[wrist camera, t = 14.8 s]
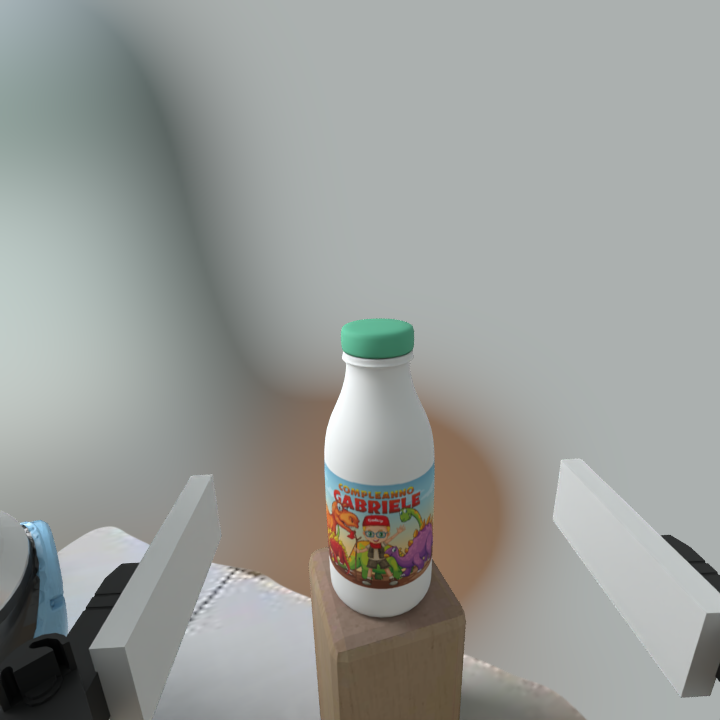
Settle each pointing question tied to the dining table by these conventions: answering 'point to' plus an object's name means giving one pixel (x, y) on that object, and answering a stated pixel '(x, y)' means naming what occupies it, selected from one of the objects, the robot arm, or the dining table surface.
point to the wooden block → (387, 654)
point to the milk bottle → (379, 474)
